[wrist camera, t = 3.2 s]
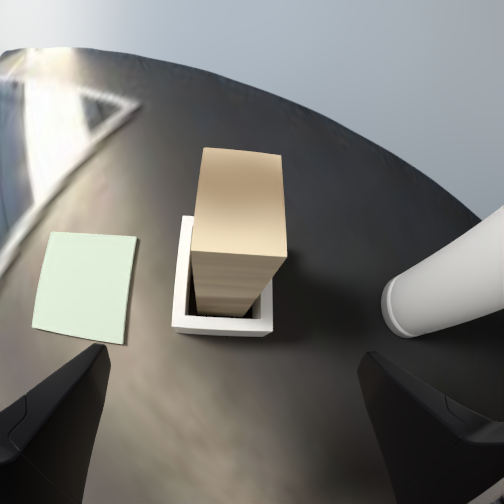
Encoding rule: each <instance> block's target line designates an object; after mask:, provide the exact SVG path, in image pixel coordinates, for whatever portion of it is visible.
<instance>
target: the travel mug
mask: <svg viewBox="0 0 504 504" xmlns="http://www.w3.org/2000/svg"><path fill="white" fill-rule="evenodd" d="M503 308H504V205H503V206H502V207H501V208H499V209H498V210H497V211H495V212H494V213H493V214H491V215H490V216H489V217H487V218H486V219H485V220H483V221H482V222H480V223H479V224H478V225H476V226H475V227H473V228H472V229H471V230H469V231H468V232H466V233H465V234H463V235H462V236H460V237H459V238H457V239H456V240H454V241H453V242H451V243H450V244H448V245H447V246H445V247H444V248H442V249H441V250H439V251H438V252H436V253H434V254H433V255H431V256H430V257H428V258H426V259H425V260H423V261H422V262H420V263H418V264H417V265H415V266H413V267H412V268H410V269H408V270H407V271H405V272H403V273H402V274H400V275H398V276H396V277H395V278H393V279H392V280H390V281H389V282H388V283H387V285H386V286H385V288H384V290H383V293H382V298H381V310H382V315H383V318H384V320H385V322H386V324H387V326H388V327H389V329H390V330H391V331H392V332H393V333H395V334H396V335H398V336H399V337H402V338H412V337H416V336H419V335H423V334H427V333H431V332H434V331H438V330H441V329H445V328H448V327H451V326H455V325H458V324H461V323H464V322H467V321H470V320H473V319H476V318H479V317H482V316H485V315H487V314H490V313H493V312H495V311H498V310H501V309H503Z"/></svg>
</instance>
